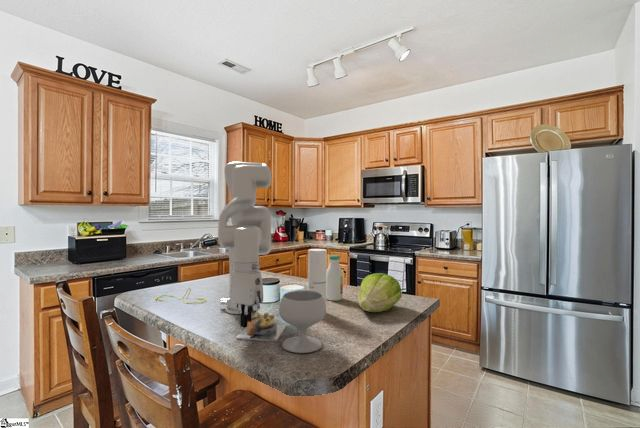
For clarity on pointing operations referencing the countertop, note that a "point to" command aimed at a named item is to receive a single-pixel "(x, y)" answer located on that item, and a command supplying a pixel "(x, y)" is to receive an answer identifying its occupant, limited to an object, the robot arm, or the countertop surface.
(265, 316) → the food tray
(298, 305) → the chalice
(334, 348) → the countertop surface
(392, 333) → the countertop surface
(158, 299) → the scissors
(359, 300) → the lettuce
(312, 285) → the cylindrical container
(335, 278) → the milk bottle
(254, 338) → the cap plate
